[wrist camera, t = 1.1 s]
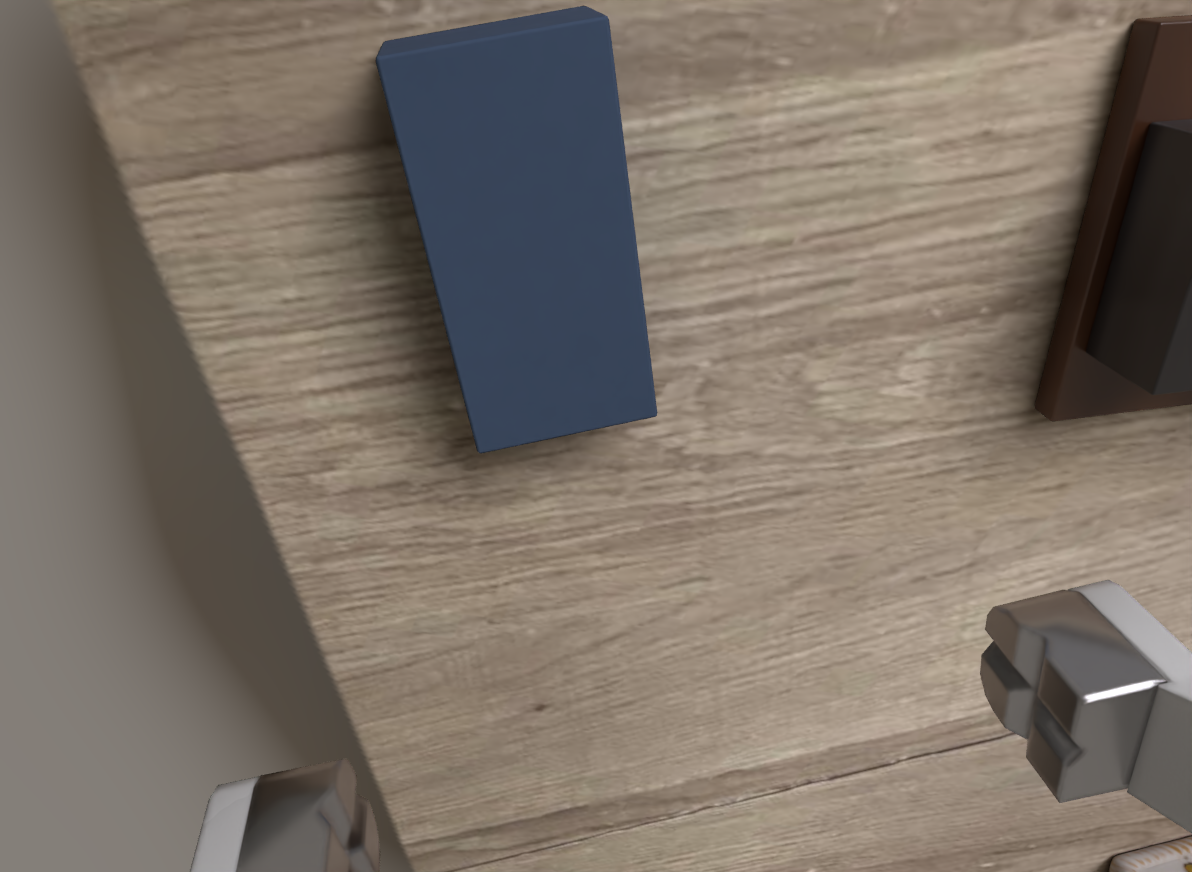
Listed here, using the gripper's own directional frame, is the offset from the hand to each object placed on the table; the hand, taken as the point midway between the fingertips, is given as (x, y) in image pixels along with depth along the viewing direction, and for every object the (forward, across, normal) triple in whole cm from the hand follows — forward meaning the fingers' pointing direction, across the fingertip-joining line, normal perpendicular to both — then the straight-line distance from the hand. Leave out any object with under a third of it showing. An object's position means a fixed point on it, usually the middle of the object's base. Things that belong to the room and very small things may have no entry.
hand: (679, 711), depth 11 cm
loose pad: (+16, 0, -2) cm, 16 cm away
